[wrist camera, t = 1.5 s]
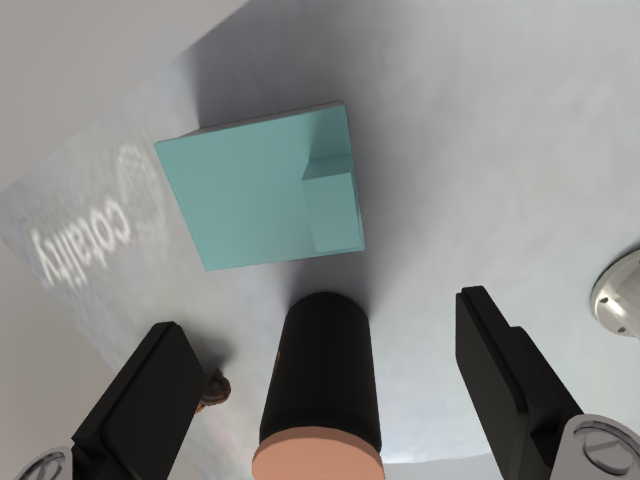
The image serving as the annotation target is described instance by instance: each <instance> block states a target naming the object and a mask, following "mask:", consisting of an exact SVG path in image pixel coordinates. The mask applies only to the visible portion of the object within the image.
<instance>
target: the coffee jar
mask: <svg viewBox="0 0 640 480" xmlns="http://www.w3.org/2000/svg"><path fill="white" fill-rule="evenodd" d="M259 445H260V446H259V447H258V449H257V450H256V452H255V454H254V457H253V461H252V475H253V477H254V479H255V480H385V475H384V470H383V464H382V460H381V457H380V455H379V454H380V451H381V447H382V441H381V432H380V422H379V413H378V403H377V394H376V384H375V375H374V365H373V356H372V346H371V336H370V328H369V322H368V318H367V316H366V315H365V313H364V311H363V310H362V308H361V307H360V306H359V305H357V304H356V303H355V302H353V301H352V300H351V299H349V298H347V297H345V296H343V295H340V294H338V293H330V292H322V293H314V294H312V295H309V296H307V297H305V298H303V299H300V300H299V301H298V302H297V303H296V304H295V305H294V306H292V307H291V308H290V310H289V312H288V314H287V316H286V318H285V322H284V326H283V330H282V335H281V339H280V343H279V348H278V352H277V356H276V360H275V365H274V369H273V373H272V378H271V382H270V386H269V391H268V395H267V399H266V404H265V408H264V412H263V416H262V421H261V425H260V435H259Z"/></svg>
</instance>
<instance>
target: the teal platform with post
mask: <svg viewBox="0 0 640 480" xmlns="http://www.w3.org/2000/svg"><path fill="white" fill-rule="evenodd" d="M153 145H154V147H155V150H156V152H157V154H158V157H159V159H160V162H161V164H162V166H163V169H164V171H165V174H166V176H167V178H168V181H169V183H170V186H171V188H172V190H173V193H174V195H175V198H176V200H177V202H178V205H179V207H180V210H181V212H182V214H183V217H184V219H185V222H186V224H187V227H188V229H189V231H190V234H191V236H192V239H193V241H194V243H195V246H196V248H197V251H198V253H199V255H200V258H201V260H202V263H203V265H204V267H205V270H206V271H212V270H219V269H227V268H234V267H242V266H250V265H257V264H265V263H272V262H280V261H287V260H295V259H303V258H310V257H318V256H325V255H333V254H341V253H348V252H356V251H363V250H366V249H365V241H364V234H363V227H362V220H361V213H360V206H359V199H358V192H357V185H356V178H355V171H354V164H353V157H352V150H351V143H350V136H349V129H348V122H347V115H346V108H345V105H340V106H335V107H330V108H325V109H320V110H315V111H310V112H305V113H300V114H295V115H290V116H285V117H280V118H275V119H270V120H265V121H260V122H255V123H250V124H244V125H239V126H234V127H229V128H224V129H219V130H214V131H209V132H204V133H199V134H194V135H189V136H184V137H179V138H174V139H169V140H164V141H159V142H157V143H154V144H153Z"/></svg>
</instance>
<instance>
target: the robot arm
mask: <svg viewBox="0 0 640 480" xmlns="http://www.w3.org/2000/svg"><path fill="white" fill-rule="evenodd" d="M590 307H591V311H592V314H593V316H594V317H595V319H596V320H597V321H598V322H599V323H600V324H601V325H602V326H603V327H604V328H606V329H607V330H608V331H610V332H612V333H615V334H617V335H622V336H627V337H637V338H638V339H639V340H640V249H639V250H636V251H635V252H633V253H631V254H629V255H627V256H625V257H624V258H622V259H621V260H619V261H618V262H616V263H615V264H614V265H613V266H612V267H610V268H609V269H608V270H607V271H606V272H605V273H604V274H603V276H602V277H601V278H600V279H599V281H598V282H597V284H596V286H595V288H594V289H593V292H592V295H591V301H590ZM455 353H456V360H457V364H458V367H459V370H460V372H461V375H462V377H463V380H464V382H465V385H466V387H467V390H468V392H469V395H470V397H471V400H472V402H473V405H474V407H475V410H476V412H477V415H478V417H479V420H480V422H481V425H482V427H483V430H484V432H485V435H486V437H487V440H488V442H489V445H490V447H491V450H492V452H493V455H494V457H495V460H496V462H497V465H498V467H499V469H500V472H501V475H502V477H503V479H504V480H640V436H638V435H637V434H636V433H634V432H633V431H632V430H630V429H629V428H628V427H626V426H624V425H622V424H620V423H619V422H617V421H615V420H612V419H609V418H606V417H603V416H600V415H593V414H584V413H583V411H582V410H581V408H580V407H579V406H578V404H577V403H576V401H575V400H574V399H573V397H572V396H571V394H570V393H569V391H568V390H567V389H566V387H565V386H564V384H563V383H562V382H561V380H560V379H559V377H558V376H557V375H556V373H555V372H554V370H553V369H552V368H551V366H550V365H549V363H548V362H547V361H546V359H545V358H544V356H543V355H542V354H541V352H540V351H539V349H538V348H537V347H536V345H535V344H534V342H533V341H532V339H531V338H530V337H529V335H528V334H527V332H526V331H525V330H524V329H523V328H522V327H520V326H516V327H510V326H509V324H508V323H507V321H506V320H505V318H504V317H503V315H502V314H501V312H500V311H499V309H498V308H497V306H496V305H495V303H494V302H493V300H492V298H491V297H490V295H489V294H488V292H487V291H486V289H485V288H484V287H483V286H473V287H465V288H462V292H461V293H456V351H455ZM206 385H207V378H206V375H205V373H204V371H203V369H202V367H201V365H200V363H199V361H198V359H197V357H196V355H195V353H194V351H193V349H192V347H191V346H190V344H189V342H188V340H187V338H186V336H185V334H184V332H183V330H182V328H181V327H180V326H179V325H177V324H176V323H175V322H173V321H170V322H161V323H156V324H155V325H154V326H153V327H152V328H151V330H150V331H149V332H148V334H147V335H146V336H145V338H144V339H143V340H142V342H141V343H140V345H139V346H138V347H137V349H136V350H135V351H134V353H133V354H132V356H131V357H130V358H129V360H128V361H127V362H126V364H125V365H124V367H123V368H122V369H121V371H120V372H119V373H118V375H117V376H116V378H115V379H114V380H113V382H112V383H111V384H110V386H109V387H108V389H107V390H106V391H105V393H104V394H103V395H102V397H101V398H100V399H99V401H98V402H97V404H96V405H95V406H94V408H93V409H92V410H91V412H90V413H89V415H88V416H87V417H86V419H85V420H84V421H83V423H82V424H81V425H80V427H79V428H78V430H77V431H76V432H75V434H74V435H73V436H72V438H71V439H72V440H73V441H74V442H75V444H74V446H73V447H72V448H71V449H70V448H68V447H67V446H58V447H55V448H52V449H49V450H47V451H45V452H44V453H42V454H40V455H39V456H38V457H36V458H35V459H33V460H32V461H31V462H30V463H29V464H28V465H26V466H25V467H24V468H23V469H22V470H21V472H20V473H19V474H18V475H17V476H16V477H15V479H14V480H167V478H168V476H169V473H170V471H171V468H172V466H173V464H174V461H175V459H176V456H177V454H178V452H179V450H180V447H181V445H182V442H183V440H184V438H185V435H186V433H187V431H188V428H189V426H190V424H191V421H192V419H193V416H194V414H195V412H196V409H197V407H198V405H199V402H200V400H201V397H202V395H203V393H204V390H205V388H206Z"/></svg>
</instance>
